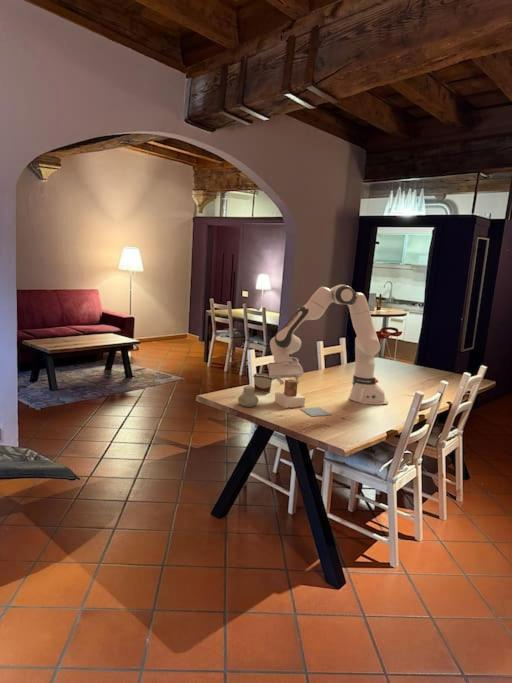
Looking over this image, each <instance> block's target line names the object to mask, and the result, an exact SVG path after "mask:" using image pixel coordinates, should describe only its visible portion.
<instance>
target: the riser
mask: <svg viewBox="0 0 512 683" xmlns="http://www.w3.org/2000/svg"><path fill="white" fill-rule="evenodd" d="M274 402H275V403H277V404H279V405H280V406H281V405H282V406H281V407H283V408H287V409H289V408H300V407H299V406H302V407H305V404H306V403H305V402H306V397H305V396H304V395H301V394H300V393H298V392H297V394H296V396H289V397H288V396H287V395H285V394H284V391H281V392H279V391H278V392H275V395H274ZM288 407H289V408H288Z"/></svg>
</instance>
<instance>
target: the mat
mask: <svg viewBox="0 0 512 683" xmlns="http://www.w3.org/2000/svg"><path fill="white" fill-rule="evenodd" d="M299 410H300V411H302V412H303V413H305V414H306V413H307V415H308V416H310V417H312V418H314V417H326V415H327V416H332V413H330V412H329V411H327V410H326V409H323V408H322V407H319V406H318V407H316V406H315V407H306V408H305V407H303V408H299Z"/></svg>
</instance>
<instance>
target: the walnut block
mask: <svg viewBox="0 0 512 683" xmlns="http://www.w3.org/2000/svg"><path fill="white" fill-rule="evenodd" d="M295 380H296V379H285V380H284V388H283V389H284V390H283V392H284V394H285V395H287V396H288V397H289V396H296V394H297V393H298V384H299V383H298V382H297V381H295ZM297 383H298V384H297Z"/></svg>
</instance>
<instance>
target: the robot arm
mask: <svg viewBox="0 0 512 683" xmlns="http://www.w3.org/2000/svg"><path fill="white" fill-rule="evenodd" d="M332 303H334V304H336V305H337V304H338V305H347V307H348V309H349V313H350V314H349V315H350V319H351V323H352V327H353V330H354V332H355V334H356V337H355V340H354V345H355V346H354V354H355V355H354V356H355V360H354V362H355V365H354V373H353V376H352V382H351V383H352V384H351V385H352V387H351V390H350V394H349V397H348V399H350V401H354V402H357V403H360V404H362V405H382V404H387V405H388V404H389V401H388V399H387V398H386V397H385V396H386V395H385V391H384V390H383V389H382V388H381V386H379V385H378V383H379V379H377V378H376V377H375V376H374V375H375V374H374V372H375V367H376V366H375V365H376V364H375V355H377V354H378V353H379V352H380V350H381V343H380V341H379V338H378V334H377V331H376V328H375V326H374V322H373V318H372V316H371V310H370V305H369V303H368V300H367V297H366V296H365V294H364V293H362V292H356V291H355V290H354V289H353V288H352V287H351V286H349V285H346V284H337V285H333V286H331V287H330V288H329V287H326V286H320V287H319V288H318V289H316V291H314V293H312V295H311V296H310V298H309V300H308V301H307V302H306V304H304V305H303V306H302V307H300V308H299V309H298V310H297V311H295V313H294V314H293V315H292V316H291V318H290V319H289V320H288V321H287V322H286V324H285V325H284V326H282V327H281V328H280V329H279V330H278V331H277V332H276V333H275V336H273V337H272V338H271V339H270V340H269V347H270V351H271V354H272V356H273V362H269V363H267V369H268V374H269V375H270V377H271V378H273V379H276V380H277V382H279V385H285V381H284V380H282V379H286V378H294V380H295V381H297V382H298V383H297V385H298V384H299V383H300V382H299V378H302V377H303V376H304V372H305V371H304V369H303V367H302V365H301V364H300V363H299V358H297V357H292V356H290V355H292V354H295V353H297V352H299V351H300V349H301V348H302V344H303V342H302V340H301V338H300V337H298V336H296V335H295V334H294V332H295V331H296V330H297V329H298V328H299V326H300V325H301V324H302V323H303V322H304V321H305V322H306V321H308V320H309V321H314V320H315V321H316V320H319V319H320V318H321V317H322V316H323V315H324V314H325V312H326V311H327V309H328V308H329V306H330V305H331V304H332Z"/></svg>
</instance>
